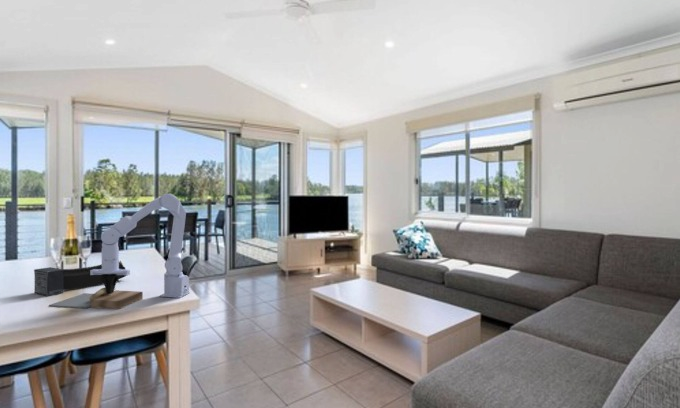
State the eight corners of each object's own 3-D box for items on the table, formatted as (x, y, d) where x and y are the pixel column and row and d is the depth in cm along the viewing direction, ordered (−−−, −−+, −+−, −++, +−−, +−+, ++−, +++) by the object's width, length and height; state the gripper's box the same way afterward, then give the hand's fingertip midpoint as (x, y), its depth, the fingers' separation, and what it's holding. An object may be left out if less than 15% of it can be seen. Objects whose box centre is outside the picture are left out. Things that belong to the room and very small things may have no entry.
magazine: (43, 274, 146) (118, 246, 169) (40, 273, 148) (115, 245, 171) (58, 309, 150) (129, 277, 174) (55, 308, 152) (126, 276, 175)
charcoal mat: (118, 296, 147) (118, 295, 147) (86, 308, 131) (86, 307, 131) (84, 294, 149) (84, 293, 149) (48, 306, 133) (48, 305, 133)
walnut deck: (142, 298, 144) (142, 291, 144) (118, 309, 131) (118, 301, 131) (116, 297, 145) (116, 290, 145) (90, 307, 132) (90, 299, 132)
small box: (64, 292, 150) (64, 268, 150) (47, 296, 144) (46, 272, 144) (51, 289, 155) (50, 266, 154) (33, 293, 149) (33, 269, 148)
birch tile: (115, 288, 142) (113, 284, 142) (103, 292, 136) (101, 288, 136) (103, 297, 143) (100, 293, 143) (90, 301, 137) (88, 297, 137)
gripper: (134, 257, 142) (134, 290, 142) (98, 257, 142) (98, 289, 142) (123, 260, 135) (123, 295, 135) (86, 260, 135) (86, 294, 135)
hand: (110, 292), depth 138 cm, fingers closed
